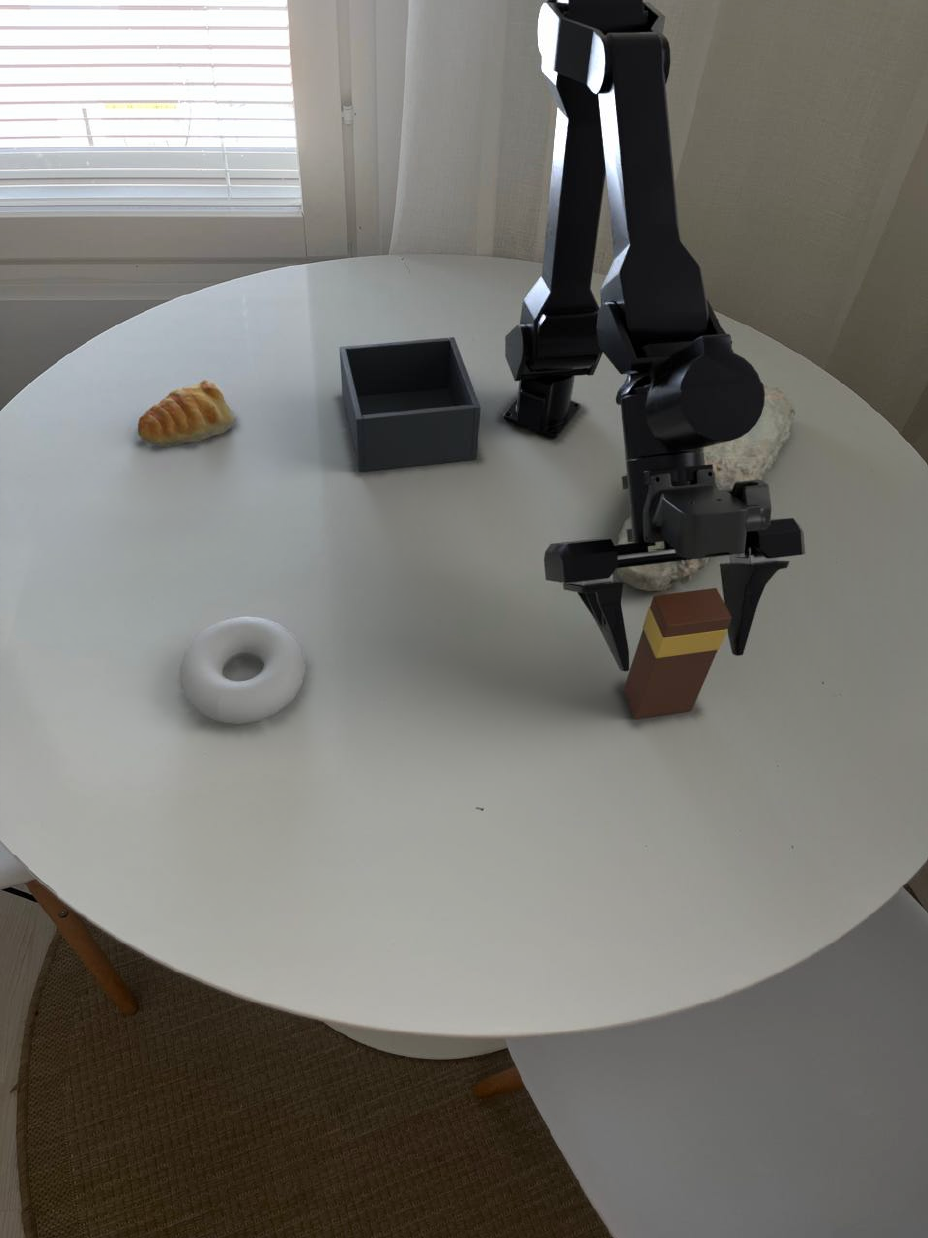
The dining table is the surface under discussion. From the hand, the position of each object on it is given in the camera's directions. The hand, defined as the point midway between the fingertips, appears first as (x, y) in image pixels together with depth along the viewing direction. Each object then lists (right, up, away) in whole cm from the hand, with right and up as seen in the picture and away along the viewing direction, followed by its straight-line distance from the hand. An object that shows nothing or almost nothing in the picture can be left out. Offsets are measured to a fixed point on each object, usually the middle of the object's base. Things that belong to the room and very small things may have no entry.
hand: (681, 662), depth 69 cm
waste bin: (-23, +24, +27) cm, 42 cm away
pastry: (-45, +23, +26) cm, 57 cm away
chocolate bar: (-1, -3, +6) cm, 7 cm away
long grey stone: (+8, +16, +23) cm, 29 cm away
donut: (-35, -2, +5) cm, 35 cm away
